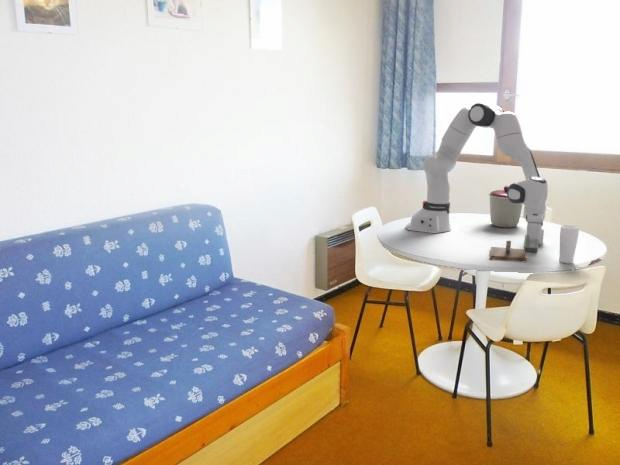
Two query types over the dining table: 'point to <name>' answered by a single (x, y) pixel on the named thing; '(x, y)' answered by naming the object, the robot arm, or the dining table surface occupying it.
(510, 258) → the pin board
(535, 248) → the sleeve
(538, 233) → the robot arm
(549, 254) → the dining table surface
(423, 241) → the dining table surface
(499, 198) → the canister
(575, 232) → the drinking glass
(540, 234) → the medicine bottle
